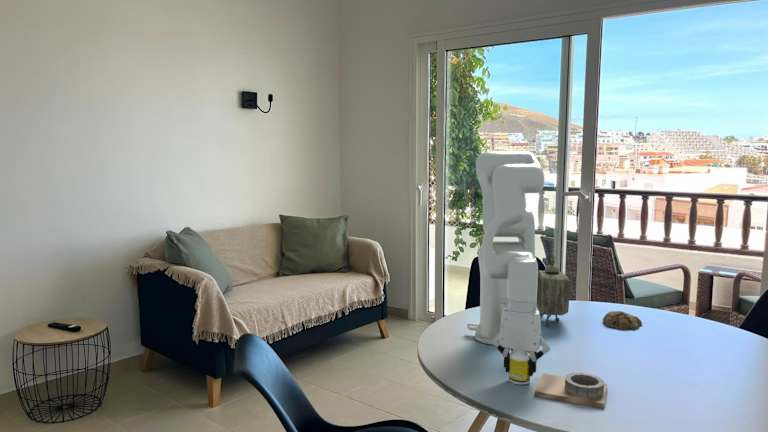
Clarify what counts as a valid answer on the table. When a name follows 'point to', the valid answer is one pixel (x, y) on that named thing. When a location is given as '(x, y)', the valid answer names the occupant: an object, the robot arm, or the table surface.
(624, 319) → the bread roll
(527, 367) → the supplement bottle
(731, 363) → the table surface
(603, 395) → the collar board
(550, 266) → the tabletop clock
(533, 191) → the robot arm
